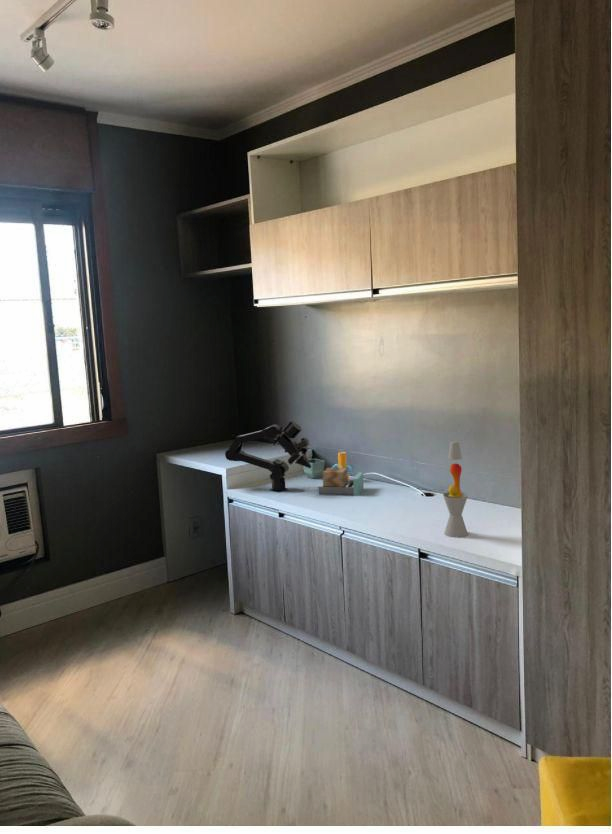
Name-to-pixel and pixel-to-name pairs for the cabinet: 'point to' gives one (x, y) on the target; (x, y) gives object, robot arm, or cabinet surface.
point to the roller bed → (338, 489)
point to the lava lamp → (455, 497)
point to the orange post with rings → (343, 463)
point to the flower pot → (314, 468)
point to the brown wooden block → (335, 477)
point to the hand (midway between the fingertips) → (310, 467)
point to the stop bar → (358, 483)
